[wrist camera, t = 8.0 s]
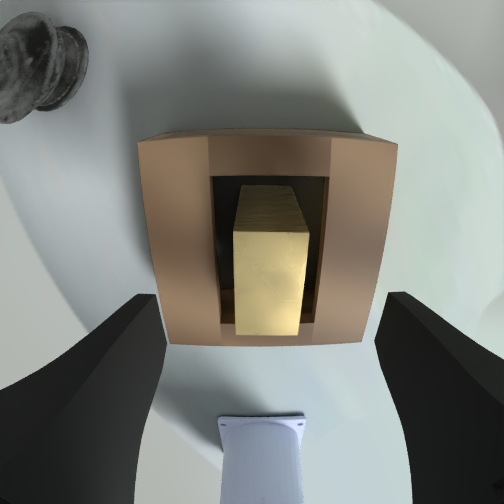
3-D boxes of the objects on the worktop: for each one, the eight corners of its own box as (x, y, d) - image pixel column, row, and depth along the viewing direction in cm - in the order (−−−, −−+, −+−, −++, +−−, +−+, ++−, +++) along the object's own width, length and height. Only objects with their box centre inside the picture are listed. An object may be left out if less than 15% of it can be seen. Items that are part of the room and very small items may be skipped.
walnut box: (344, 298, 18) (361, 342, 15) (184, 299, 19) (170, 343, 15) (364, 133, 14) (398, 144, 10) (165, 132, 14) (137, 142, 10)
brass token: (286, 263, 17) (297, 335, 12) (241, 262, 17) (235, 334, 12) (290, 185, 15) (309, 232, 10) (241, 185, 15) (233, 231, 10)
